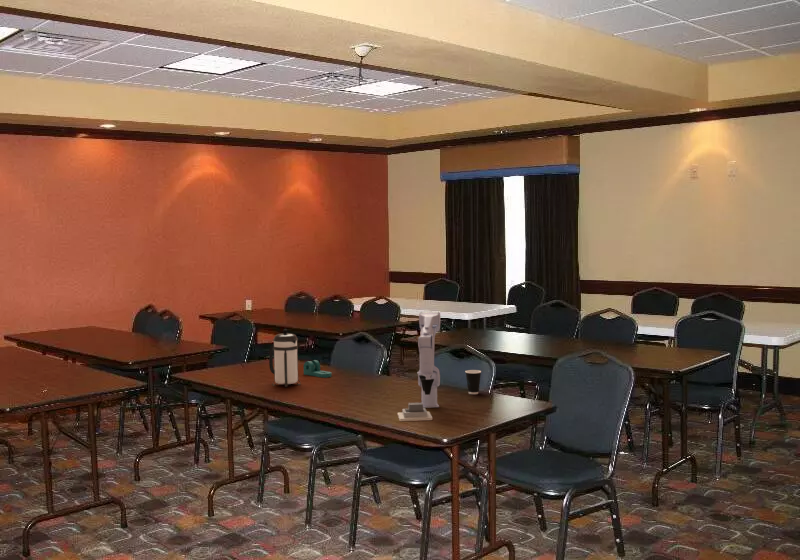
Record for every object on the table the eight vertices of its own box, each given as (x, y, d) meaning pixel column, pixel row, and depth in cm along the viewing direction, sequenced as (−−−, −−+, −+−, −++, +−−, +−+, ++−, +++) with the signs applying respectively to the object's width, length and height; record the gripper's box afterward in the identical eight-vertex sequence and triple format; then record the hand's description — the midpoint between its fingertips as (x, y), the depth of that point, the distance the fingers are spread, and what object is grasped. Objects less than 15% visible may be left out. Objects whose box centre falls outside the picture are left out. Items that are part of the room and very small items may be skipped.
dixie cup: (484, 392, 403) (484, 370, 402) (476, 395, 396) (476, 373, 395) (470, 391, 407) (469, 369, 406) (462, 393, 401) (462, 371, 400)
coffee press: (302, 381, 439) (300, 326, 437) (299, 387, 423) (297, 330, 421) (269, 382, 438) (268, 327, 436) (265, 388, 422) (264, 331, 420)
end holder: (397, 414, 358) (397, 408, 358) (429, 413, 360) (428, 406, 359) (399, 421, 347) (399, 414, 346) (432, 420, 348) (432, 413, 348)
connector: (408, 414, 355) (408, 402, 355) (422, 413, 355) (421, 402, 355) (409, 416, 351) (409, 404, 351) (423, 415, 351) (422, 404, 351)
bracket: (303, 374, 461) (303, 361, 460) (312, 373, 466) (312, 359, 465) (325, 378, 449) (324, 364, 448) (334, 376, 454) (333, 362, 453)
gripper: (415, 359, 365) (415, 389, 366) (418, 365, 350) (419, 396, 351) (430, 359, 366) (431, 389, 366) (435, 364, 351) (435, 395, 352)
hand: (426, 392), depth 359 cm, fingers open, 7 cm apart
